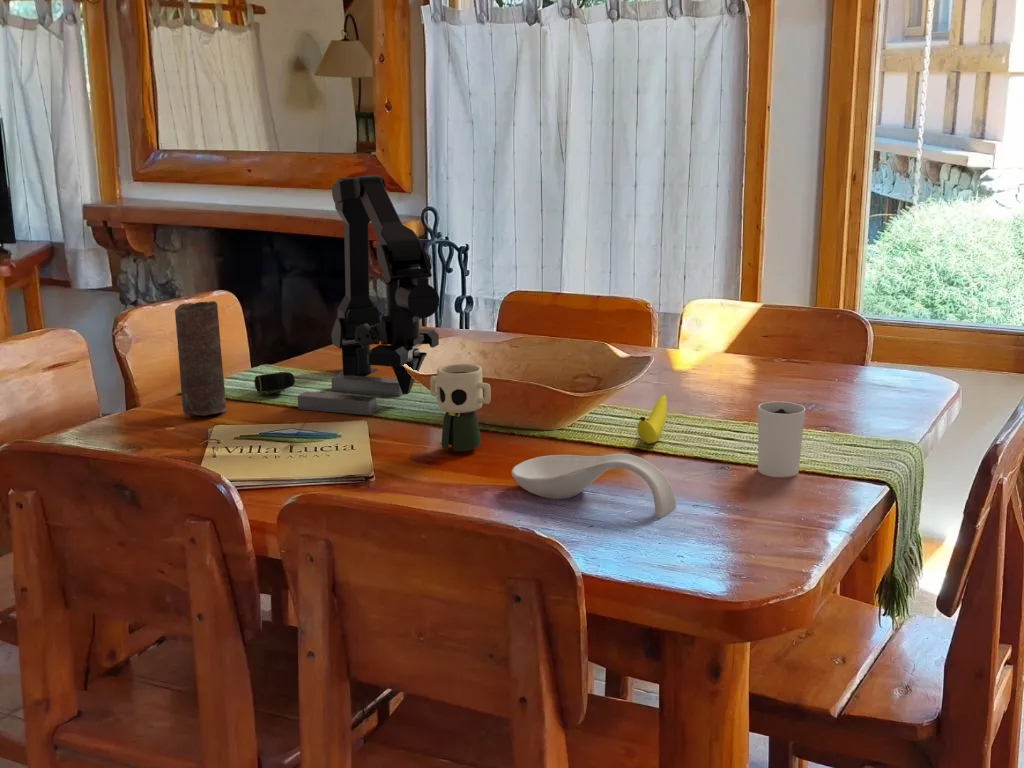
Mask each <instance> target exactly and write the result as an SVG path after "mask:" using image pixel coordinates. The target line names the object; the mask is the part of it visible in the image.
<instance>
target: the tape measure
mask: <svg viewBox="0 0 1024 768" xmlns="http://www.w3.org/2000/svg"><path fill="white" fill-rule="evenodd" d="M295 378H296V377H295V375H294V374H293V373H292V372H288V371H279V372H273V373H266V374H259V375H255V377H254V382H253V383H254V387H255V390H256V391H257V392H258V393H265V395H271V394H273V393H275V392H279V391H282V392H285V390H286V389H289V388H292V387H293V386H294V385H295V382H296V380H295Z"/></svg>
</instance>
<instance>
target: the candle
mask: <svg viewBox="0 0 1024 768" xmlns="http://www.w3.org/2000/svg"><path fill="white" fill-rule="evenodd" d="M174 315H175V316H174V317H175V329H176V340H177V351H178V361H179V365H178V366H179V377H180V378H179V379H180V389H181V401H182V412H183V413H184V414H185V415H187V416H192V417H196V416H197V417H205V416H211V415H216V414H219V413H221V414H222V413H225V412H227V402H226V388H225V379H224V367H223V359H222V358H223V356H222V347H221V335H220V334H221V332H220V322H219V321H220V320H219V307H218V303H217V302H216V301H214V300H213V301H199V302H198V301H197V302H195V303H194V302H189V303H179V305H178V306H177V307H176V308H175V309H174Z"/></svg>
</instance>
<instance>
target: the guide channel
mask: <svg viewBox="0 0 1024 768" xmlns="http://www.w3.org/2000/svg"><path fill="white" fill-rule="evenodd" d="M330 383H331V391H332V392H338V391H339V392H340V393H339V392H338V393H329V392H315V391H304V392H302V393H300V394H298V395H297V406H298V407H297V408H298V410H304V411H305V410H306V411H313V412H314V411H316V412H326V413H327V412H329V413H337V414H339V413H340V414H348V415H349V414H351V415H362V416H372V414H374V413H376V412H377V411H378V403H377V396H379V395H380V396H391V397H401V396H403V395H404V394H403V393H402V391H401V388H400V386H399V383H398V380H397V378H390V377H379V376H378V377H376V376H366V377H365V376H352V375H335V376H333V377H331V379H330ZM351 392H352V394H344V393H351ZM341 393H343V394H341ZM353 393H355V394H365V395H354V394H353ZM366 395H367V396H366ZM368 395H377V396H368Z"/></svg>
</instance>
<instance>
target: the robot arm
mask: <svg viewBox="0 0 1024 768" xmlns="http://www.w3.org/2000/svg"><path fill="white" fill-rule="evenodd" d="M336 181H337V182H335V183H333V185H332V186H331V187H332V188H331V194H332V195H331V197H332V200H333V202H334V208H335V210H336V212H337V214H338V215H339V217H340V218H341V220H342V222H343V226H344V227H343V228H344V229H343V233H344V234H343V235H344V236H343V237H344V238H343V239H344V278H345V279H344V280H345V282H344V283H345V295H344V297H343V298H342V300H341V302H340V303H339V305H338V307H337V317H336V319H335V321H334V324H333V327H332V331H331V335H330V336H331V342H332V345H333V346H334V347H336V348H338V349H341V360H342V362H341V363H342V370H341V371H338V372H337V373H335V374H336V375H335V376H337V375H352V376H365V377H368V376H369V375H371V374H373V373H374V372H376V371H378V370H379V369H378V368H376V367H375V368H372V366H378V367H391V368H392V369H393V371H394V374H395V376H396V379H397V380H398V383H399V386H400V388H401V391H402V393H403V395H409V394H410V392H411V390H412V388H413V385H414V383H415V380H416V379H415V380H414V379H413V378H412V377H411V376H410V375H409V374H408V373H407V371H406V370H405V368H404V367H403V366H402V365H404V364H407V365H408V366H409V367H411V368H412V369H413V370H417V371H418V372H419V371H420V369H421V367H422V365H423V362H424V361H425V358H426V357H427V355H428V353H427V352H422V351H421V350H420V348H418V347H419V346H420V345H429V347H430V348H436V347H437V346H438V345H440V344H439V343H440V341H439V336H440V335H439V333H437V332H436V330H434V329H428V328H427V329H425V328H424V329H422V328H420V327H421V326H420V324H421V322H420V320H422V319H426V318H429V317H431V316H433V315H434V314H435V313H436V311H437V310H438V308H439V305H440V296H439V293H438V291H437V290H436V289H435V288H434V287H433V286H432V285H430V284H429V278H431V277H432V276H433V275H432V274H433V273H432V266H433V265H432V264H431V261H430V259H429V257H428V254H427V251H426V248H425V246H424V244H423V242H421V241H420V239H419V237H418V235H417V234H416V233H415V231H414V230H413V229H412V228H409V227H408V226H405V224H403V222H402V221H401V219H400V217H399V215H398V212H397V210H396V208H395V207H394V204H393V202H392V200H391V198H390V196H389V194H388V192H387V190H386V181H385V179H384V177H382V176H379V175H362V176H355V177H353V176H352V177H339V178H338V179H337V180H336ZM370 223H371V225H372V227H373V229H374V232H375V233H376V234H375V235H376V237H377V239H378V244H377V248H376V258H377V261H378V264H379V267H380V268H381V272H382V273H383V280H384V281H385V296H386V297H385V301H386V302H385V303H386V314H384V315H382V316H381V317H380V315H379V314H380V312H379V309H378V307H377V306H376V305H375V304H374V302H373V301H372V299H371V298H370V296H371V295H370V254H369V253H370V251H369V249H370V247H369V246H370V243H369V242H370V240H369V224H370ZM380 318H381V319H380ZM371 345H376V346H374V347H373V348H371Z"/></svg>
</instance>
